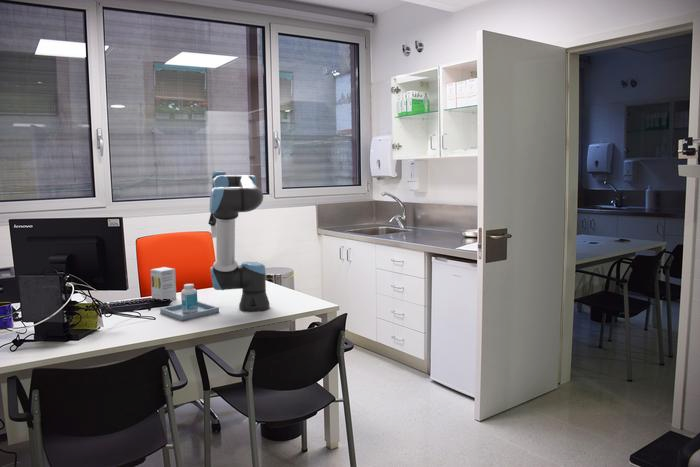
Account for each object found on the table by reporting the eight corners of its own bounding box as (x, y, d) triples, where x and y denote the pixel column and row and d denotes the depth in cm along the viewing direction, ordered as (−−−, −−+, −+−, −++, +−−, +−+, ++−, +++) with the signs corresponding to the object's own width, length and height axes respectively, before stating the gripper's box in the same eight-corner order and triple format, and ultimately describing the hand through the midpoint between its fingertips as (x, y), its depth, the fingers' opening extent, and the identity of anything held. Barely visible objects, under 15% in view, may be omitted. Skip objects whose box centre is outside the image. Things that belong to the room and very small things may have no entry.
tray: (218, 312, 265) (218, 307, 264) (182, 321, 250) (181, 315, 250) (196, 305, 278) (196, 300, 278) (160, 313, 263) (160, 308, 263)
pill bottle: (200, 309, 267) (199, 283, 266) (194, 314, 260) (193, 286, 258) (185, 309, 268) (184, 282, 266) (179, 313, 261) (178, 286, 259)
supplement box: (151, 300, 289) (149, 269, 287) (165, 296, 297) (164, 266, 295) (162, 302, 284) (160, 271, 282) (177, 299, 291) (175, 268, 289)
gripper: (239, 200, 288) (240, 240, 290) (212, 198, 305) (214, 236, 307) (227, 201, 282) (228, 241, 285) (201, 199, 299) (202, 237, 302)
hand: (221, 238), depth 296 cm, fingers open, 13 cm apart
